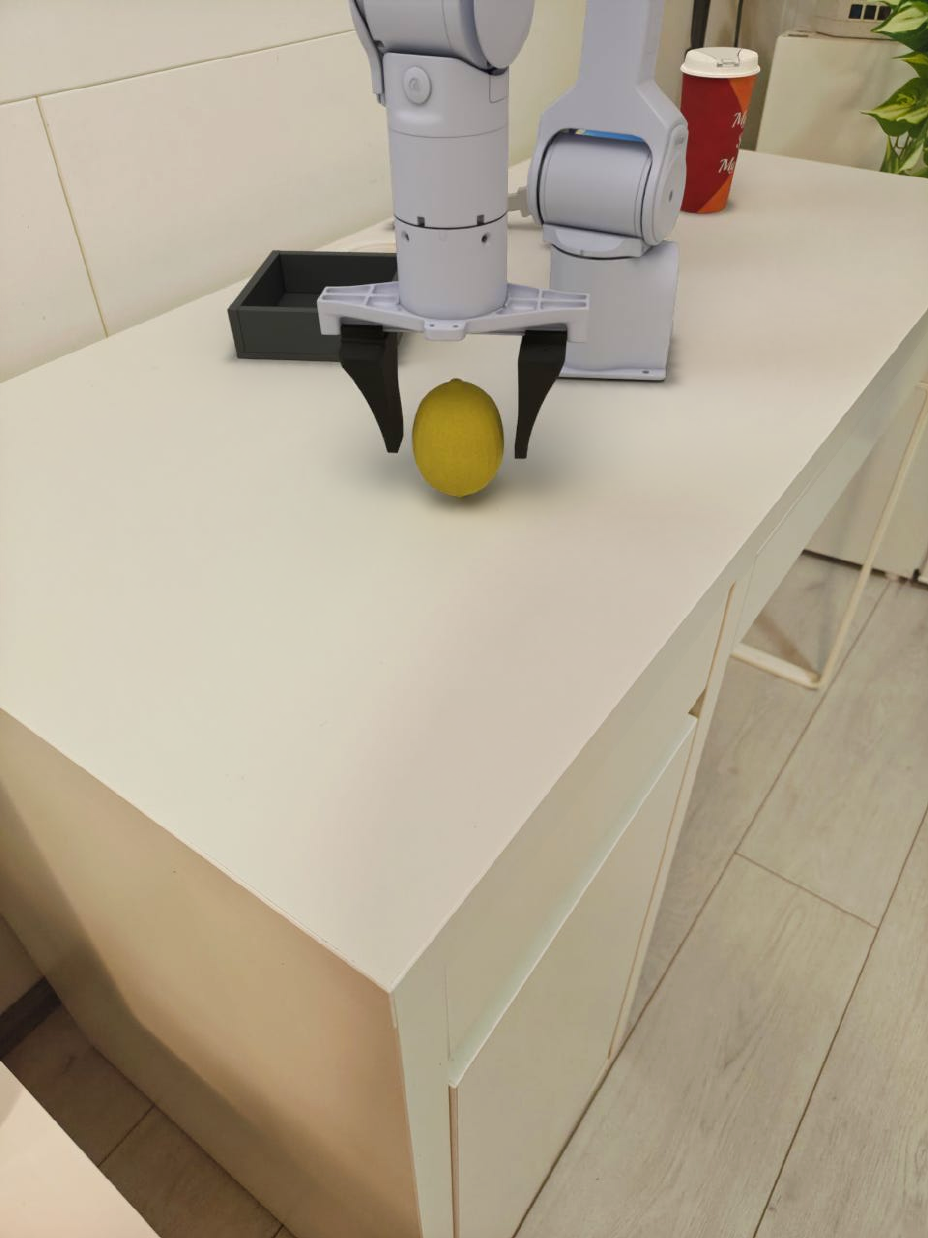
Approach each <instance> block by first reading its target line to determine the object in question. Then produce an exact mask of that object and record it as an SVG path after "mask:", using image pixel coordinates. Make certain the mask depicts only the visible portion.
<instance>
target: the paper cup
mask: <svg viewBox="0 0 928 1238" xmlns="http://www.w3.org/2000/svg"><path fill="white" fill-rule="evenodd" d="M679 70H680V71H681V72H682V79H681V93H680V94H681V95H680V108H679V111H680V112H681V113H682V115H683V116H684V118H685V119H686V121H687V123H688V127H687V129H688V141H687V149H686V183H685V190H684V195H683V200H682V204H681V208H680V211H682V212H687V213H692V214H713V213H718V212H721V211H723V210H724V209H726V206H727V203H728V200H729V196H730V190H731V187H732V184H733V183H732V182H733V180H734V179H733V178H734V175H735V170H736V165H737V162H738V156H739V153H740V147H741V144H742V143H741V142H742V139H743V134H744V130H745V126H746V121H747V116H748V112H749V108H750V103H751V99H752V94H753V90H754V86H755V80H756V76H757V74H759V73H761V67H760V65H759V54H758V52H756V51H754V50H752V49H748V48H741V47H733V46H732V47H731V46H709V47H699V48H695V49H691V50H689V51H687V53H686V55H685V59H684V61H683V63H682V64H681V66H680V68H679Z"/></svg>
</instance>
